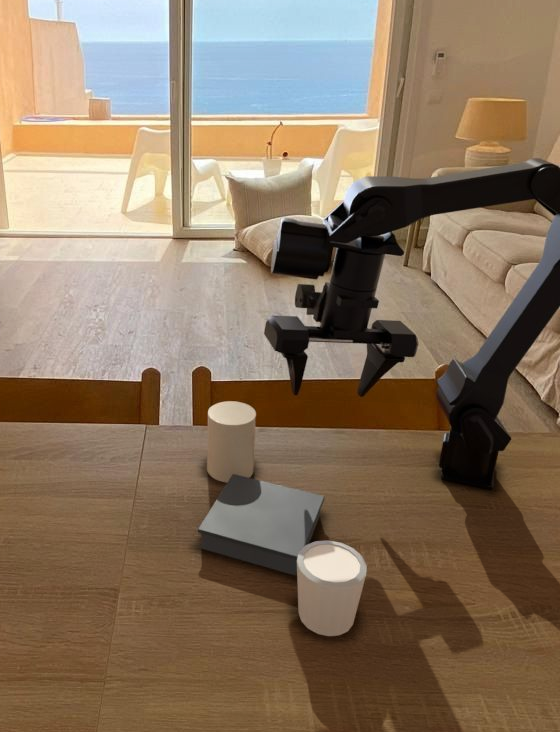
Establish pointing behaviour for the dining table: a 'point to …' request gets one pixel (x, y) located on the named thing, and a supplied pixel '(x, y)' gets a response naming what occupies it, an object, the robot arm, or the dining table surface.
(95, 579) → the dining table surface
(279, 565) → the storage box
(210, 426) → the cream pillar candle
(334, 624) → the shot glass
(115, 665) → the dining table surface
